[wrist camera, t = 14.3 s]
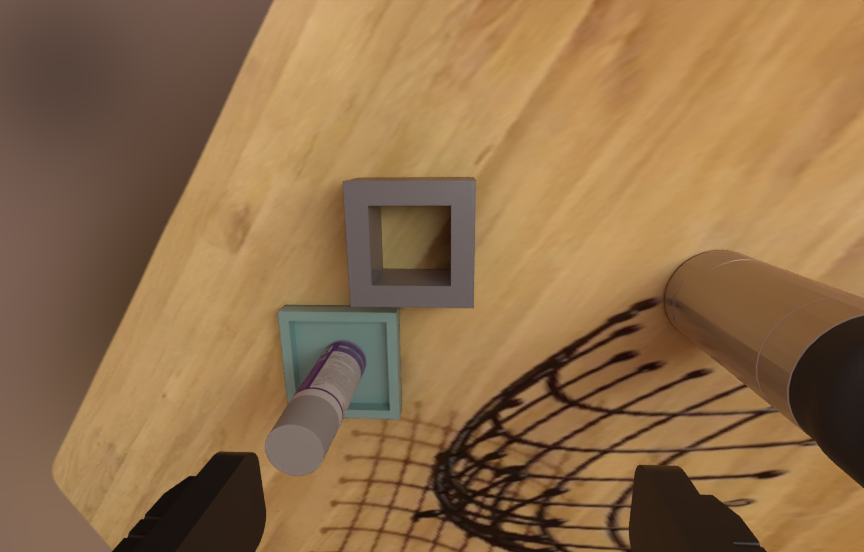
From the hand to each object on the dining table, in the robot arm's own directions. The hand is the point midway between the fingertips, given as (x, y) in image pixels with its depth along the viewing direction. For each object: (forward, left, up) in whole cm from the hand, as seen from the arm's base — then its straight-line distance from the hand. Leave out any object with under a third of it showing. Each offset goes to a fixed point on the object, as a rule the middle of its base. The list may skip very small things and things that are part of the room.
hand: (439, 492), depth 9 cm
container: (+12, +14, -35) cm, 39 cm away
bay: (+4, +1, -35) cm, 35 cm away
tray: (+12, +14, -35) cm, 40 cm away
